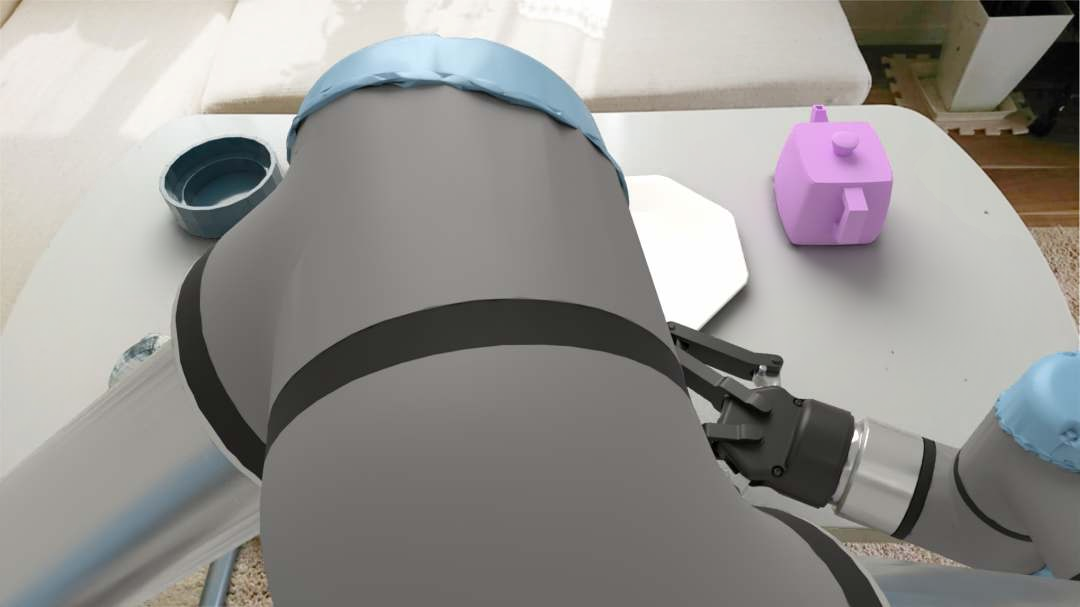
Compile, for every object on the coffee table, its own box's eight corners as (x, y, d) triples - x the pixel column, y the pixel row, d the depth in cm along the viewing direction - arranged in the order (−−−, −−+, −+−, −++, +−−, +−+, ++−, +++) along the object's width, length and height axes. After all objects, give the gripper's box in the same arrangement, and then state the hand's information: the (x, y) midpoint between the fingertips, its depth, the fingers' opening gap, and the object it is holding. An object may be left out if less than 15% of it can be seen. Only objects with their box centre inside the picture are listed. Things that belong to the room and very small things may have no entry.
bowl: (198, 258, 84) (179, 227, 81) (164, 195, 92) (145, 163, 88) (306, 209, 89) (293, 177, 85) (265, 152, 96) (251, 120, 92)
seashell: (220, 357, 77) (169, 461, 70) (146, 334, 76) (85, 438, 68) (223, 324, 73) (169, 432, 65) (144, 299, 71) (79, 406, 64)
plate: (521, 352, 74) (520, 343, 73) (521, 190, 89) (520, 180, 88) (761, 342, 73) (764, 333, 72) (720, 180, 88) (722, 170, 87)
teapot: (760, 157, 90) (777, 85, 82) (849, 155, 90) (875, 82, 82) (788, 268, 79) (810, 197, 71) (890, 267, 79) (924, 194, 71)
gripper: (800, 599, 52) (507, 475, 59) (853, 390, 63) (599, 305, 70) (827, 561, 47) (498, 428, 54) (880, 337, 57) (600, 250, 64)
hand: (556, 359), depth 62 cm, fingers closed on beverage can, 6 cm apart
